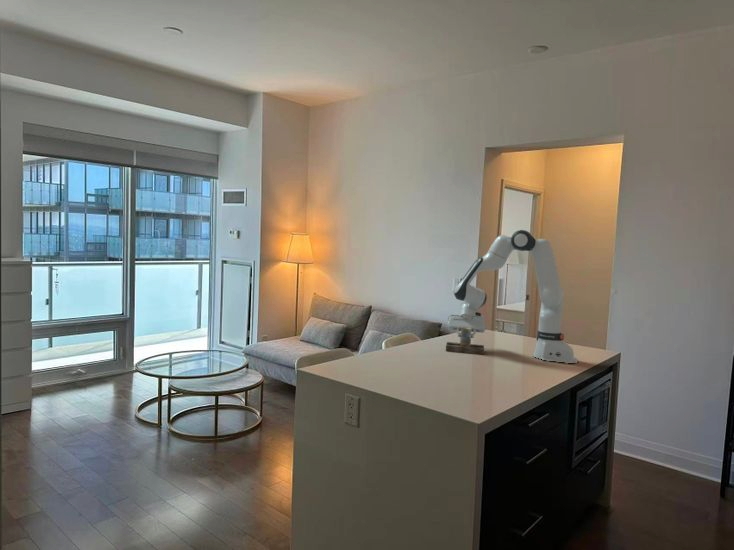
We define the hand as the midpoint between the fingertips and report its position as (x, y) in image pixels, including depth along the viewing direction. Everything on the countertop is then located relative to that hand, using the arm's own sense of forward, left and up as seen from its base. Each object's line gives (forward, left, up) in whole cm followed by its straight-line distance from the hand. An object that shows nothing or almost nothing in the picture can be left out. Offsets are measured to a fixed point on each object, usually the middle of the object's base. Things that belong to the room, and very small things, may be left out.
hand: (465, 336), depth 289 cm
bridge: (0, -1, -8) cm, 8 cm away
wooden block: (0, -1, -5) cm, 5 cm away
